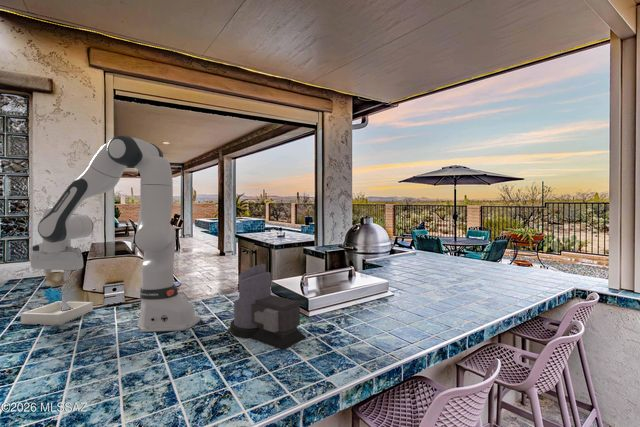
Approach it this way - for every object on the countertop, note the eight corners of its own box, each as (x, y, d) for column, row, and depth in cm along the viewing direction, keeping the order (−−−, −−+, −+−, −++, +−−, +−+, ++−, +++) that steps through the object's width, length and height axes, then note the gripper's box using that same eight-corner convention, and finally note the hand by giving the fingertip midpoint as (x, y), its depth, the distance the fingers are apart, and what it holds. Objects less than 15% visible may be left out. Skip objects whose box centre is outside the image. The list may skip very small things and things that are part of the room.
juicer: (218, 330, 117) (217, 263, 116) (252, 318, 130) (252, 257, 129) (278, 353, 99) (277, 274, 98) (310, 336, 112) (310, 265, 111)
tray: (92, 311, 138) (92, 302, 138) (59, 325, 122) (58, 314, 122) (58, 310, 139) (58, 301, 139) (20, 323, 124) (20, 313, 123)
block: (68, 283, 132) (68, 270, 132) (57, 286, 128) (57, 273, 127) (57, 282, 133) (57, 270, 133) (46, 285, 128) (45, 273, 128)
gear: (55, 304, 142) (41, 288, 143) (45, 314, 142) (31, 297, 143) (75, 300, 153) (61, 285, 154) (65, 309, 153) (52, 294, 154)
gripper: (87, 245, 132) (87, 279, 132) (41, 245, 134) (42, 278, 134) (74, 247, 126) (74, 283, 126) (26, 247, 128) (27, 281, 128)
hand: (57, 280), depth 130 cm, fingers closed on block, 5 cm apart
